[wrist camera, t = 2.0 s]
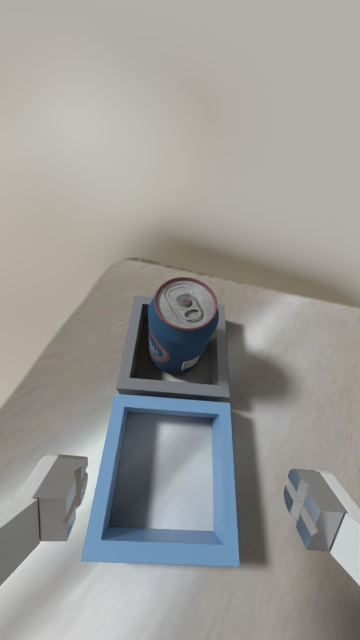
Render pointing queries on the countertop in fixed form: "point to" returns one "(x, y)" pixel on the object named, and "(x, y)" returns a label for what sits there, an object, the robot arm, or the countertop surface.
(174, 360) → the soda can
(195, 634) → the countertop surface
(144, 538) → the frame
